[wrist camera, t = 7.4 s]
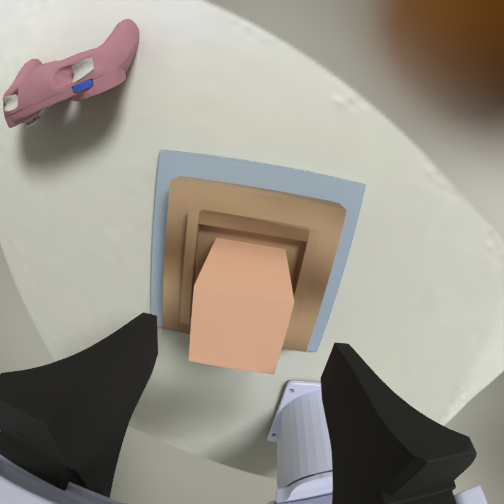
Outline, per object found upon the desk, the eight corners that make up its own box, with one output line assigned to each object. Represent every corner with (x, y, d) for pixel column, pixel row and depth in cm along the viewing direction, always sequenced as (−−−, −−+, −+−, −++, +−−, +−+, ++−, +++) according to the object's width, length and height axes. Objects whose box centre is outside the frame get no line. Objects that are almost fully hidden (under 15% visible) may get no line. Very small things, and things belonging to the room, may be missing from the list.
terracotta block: (272, 308, 19) (274, 374, 13) (208, 298, 19) (188, 360, 13) (285, 249, 18) (294, 302, 12) (216, 237, 17) (193, 285, 12)
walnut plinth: (303, 334, 22) (307, 358, 19) (169, 313, 22) (159, 334, 19) (338, 202, 18) (350, 213, 16) (179, 176, 18) (166, 182, 16)
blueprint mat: (316, 348, 23) (316, 352, 23) (152, 322, 23) (151, 325, 22) (363, 183, 18) (365, 184, 18) (162, 149, 18) (160, 150, 18)
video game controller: (47, 106, 18) (-4, 150, 13) (31, 59, 15) (-27, 92, 10) (154, 72, 18) (116, 106, 13) (142, 14, 14) (95, 26, 9)
